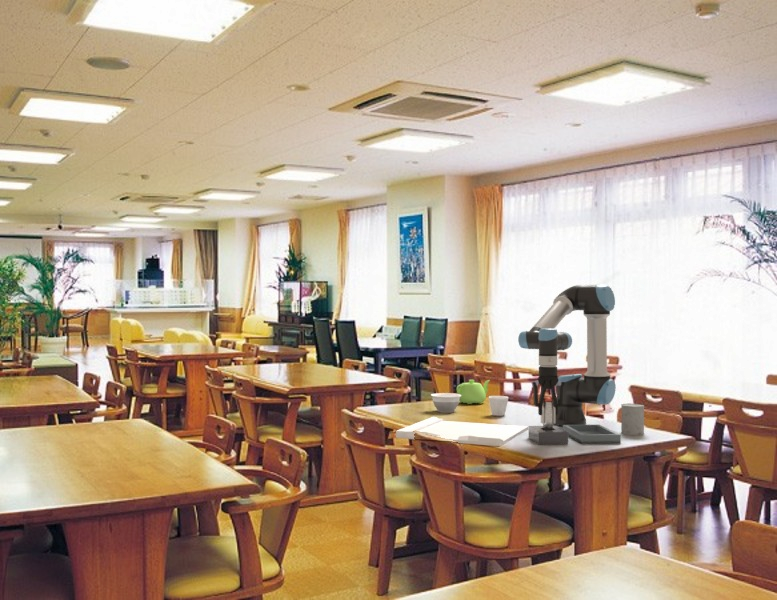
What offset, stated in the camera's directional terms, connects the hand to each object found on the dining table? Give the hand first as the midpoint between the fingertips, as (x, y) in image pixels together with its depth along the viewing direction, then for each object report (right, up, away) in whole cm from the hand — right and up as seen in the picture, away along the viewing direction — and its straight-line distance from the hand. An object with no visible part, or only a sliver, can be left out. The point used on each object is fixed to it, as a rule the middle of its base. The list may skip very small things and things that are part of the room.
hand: (548, 422), depth 326 cm
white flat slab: (-33, -8, +18) cm, 38 cm away
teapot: (-18, -7, +118) cm, 120 cm away
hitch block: (0, -7, 0) cm, 7 cm away
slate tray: (+19, -7, +7) cm, 22 cm away
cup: (-11, -8, +71) cm, 73 cm away
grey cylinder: (+41, -8, +19) cm, 45 cm away
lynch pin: (0, -7, 0) cm, 7 cm away
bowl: (-36, -7, +85) cm, 93 cm away
